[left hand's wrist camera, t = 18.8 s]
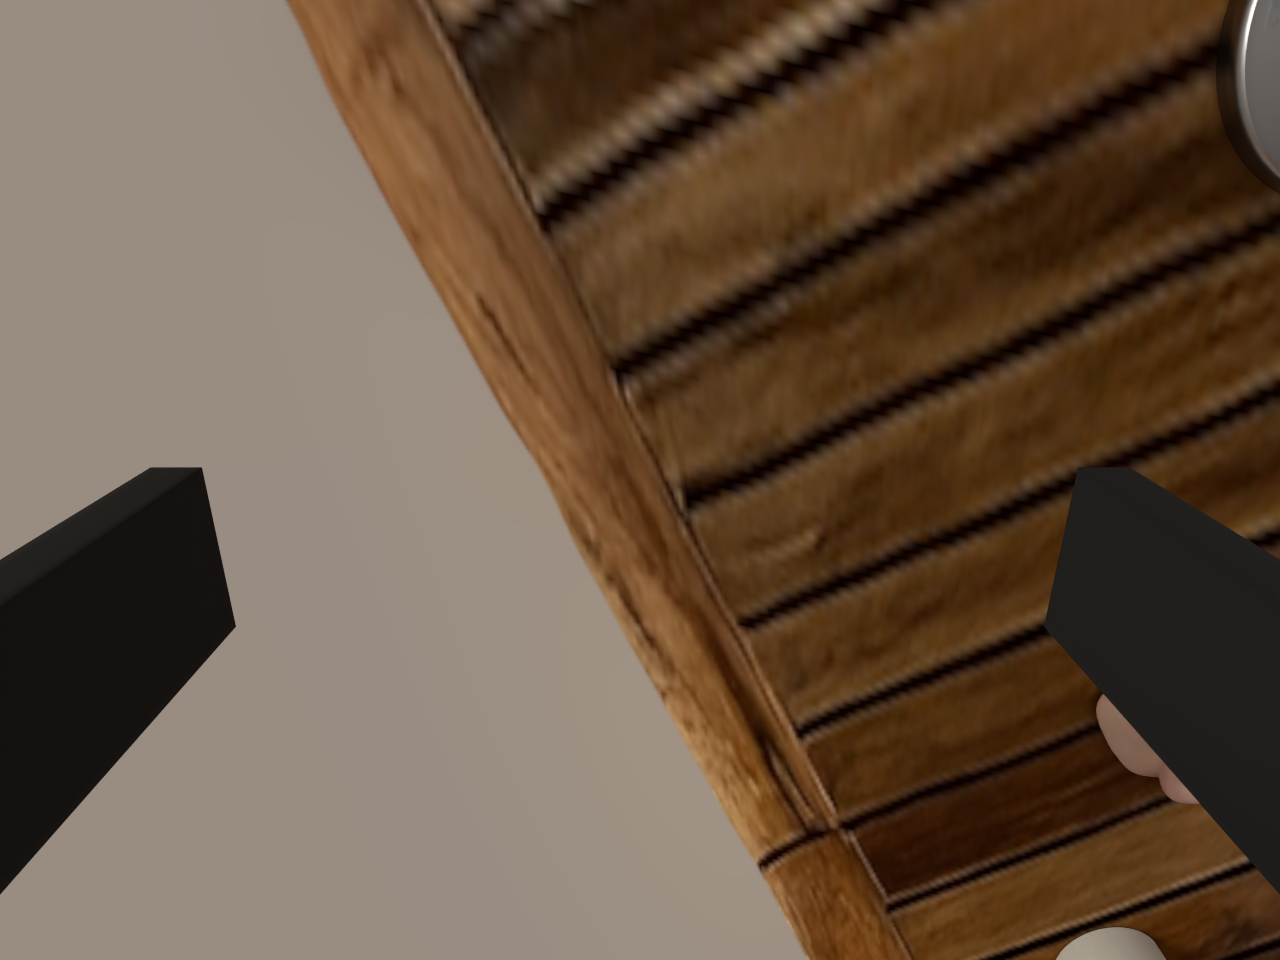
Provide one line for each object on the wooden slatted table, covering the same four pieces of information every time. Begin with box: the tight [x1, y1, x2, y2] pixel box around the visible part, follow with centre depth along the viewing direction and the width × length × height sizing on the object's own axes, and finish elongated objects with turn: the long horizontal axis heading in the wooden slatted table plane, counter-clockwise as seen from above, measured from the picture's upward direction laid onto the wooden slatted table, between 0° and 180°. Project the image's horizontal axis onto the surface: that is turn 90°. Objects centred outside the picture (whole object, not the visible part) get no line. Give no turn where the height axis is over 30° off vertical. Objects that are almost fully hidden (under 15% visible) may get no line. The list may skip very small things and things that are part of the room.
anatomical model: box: [1096, 694, 1200, 804], centre depth 48 cm, size 13×4×12 cm
